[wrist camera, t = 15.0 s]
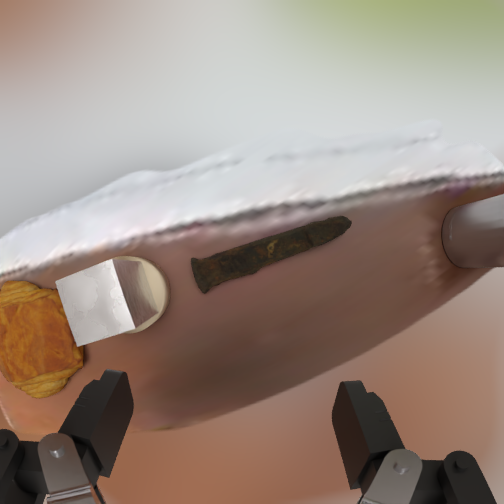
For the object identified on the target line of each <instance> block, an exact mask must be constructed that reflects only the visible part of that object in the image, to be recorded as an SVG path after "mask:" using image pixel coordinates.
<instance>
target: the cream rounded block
mask: <svg viewBox="0 0 504 504" xmlns="http://www.w3.org/2000/svg"><path fill="white" fill-rule="evenodd" d="M112 259H118V260H129V261H140V262H142V265H143V268H144V271H145V274H146V277H147V280H148V283H149V286H150V288H151V291H152V294H153V297H154V300H155V303H156V305H157V308H158V311H159V313H157V314H156V315H154V316H153V317H151V318H150V319H149V320H147V321H146V322H144V323H143V324H141V325H140V326H138V327H137V328H135V329H132V330H129V331H126V332H123V333H136V332H139V331H142V330H144V329H146V328H147V327H149V326H150V325H151V324H153V323H154V322H155V321H156V320H158V319H159V318H160V317H161V316H162V315H163V314H164V312H165V311H166V309H167V307H168V304H169V301H170V285H169V282H168V279H167V277H166V275H165V273H164V272H163V270H162V269H161V268H160V267H159V266H158V265H157V264H155V263H154V262H152V261H150V260H148V259H144V258H138V257H131V256H119V257H115V258H112Z"/></svg>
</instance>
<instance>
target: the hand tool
mask: <svg viewBox="0 0 504 504" xmlns="http://www.w3.org/2000/svg"><path fill="white" fill-rule="evenodd" d="M351 224H352V222H351V221H350V220H349V219H348V218H347V217H344V216H338V217H333V218H328V219H327V220H325V221H318V222H312V223H310V224H308V225H306V226H302V227H299V228H296V229H293V230H290V231H287V232H284V233H280V234H277V235H274V236H270V237H267V238H264V239H261V240H258V241H254V242H251V243H249V244H246V245H243V246H239V247H236V248H233V249H230V250H227V251H224V252H221V253H217V254H215V255H213V256H211V257H208V258H205V259H202V260H197V259H196V258H192V259H191V265H192V269H193V273H194V277H195V280H196V283H197V284H198V286H199V288H200V289H201V291H202V293H207V292H208V290H209V289H210V288H212V287H213V286H216V285H219V284H220V283H221V282H223V281H227V280H230V279H234V278H238V277H240V276H241V277H242V276H245V275H247V274H254V273H256V272H257V271H258V270H259V269H260V268H262V267H264V266H267V265H270V264H272V263H274V262H277V261H279V260H282V259H284V258H287V257H290V256H293V255H295V254H297V253H300V252H303V251H306V250H309V249H310V248H313V247H316V246H319V245H322V244H324V243H327V242H329V241H331V240H333V239H335V238H337V237H338V236H340V235H342V234H343V233H345V231H346V230H347V229H348V228H350V226H351Z"/></svg>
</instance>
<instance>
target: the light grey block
mask: <svg viewBox="0 0 504 504" xmlns="http://www.w3.org/2000/svg"><path fill="white" fill-rule="evenodd" d="M55 282H56V285H57V289H58V292H59V295H60V298H61V302H62V305H63V308H64V311H65V314H66V317H67V320H68V322H69V325H70V328H71V331H72V334H73V336H74V339H75V342H76V344H77V347H78V346H82V345H85V344H88V343H91V342H95V341H98V340H101V339H104V338H107V337H110V336H114V335H117V334H120V333H123V332H126V331H129V330H132V329H135V328H137V327H138V326H140V325H141V324H143V323H144V322H146V321H147V320H149V319H150V318H151V317H153V316H154V315H156V314H157V313H159V311H158V308H157V305H156V303H155V300H154V297H153V294H152V291H151V288H150V286H149V283H148V280H147V277H146V274H145V271H144V268H143V265H142V262H140V261H129V260H118V259H110V260H108V261H105V262H102V263H100V264H97V265H95V266H92V267H90V268H87V269H85V270H82V271H80V272H77V273H75V274H72V275H70V276H67V277H65V278H62V279H60V280H57V281H55Z"/></svg>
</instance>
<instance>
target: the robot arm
mask: <svg viewBox="0 0 504 504" xmlns="http://www.w3.org/2000/svg"><path fill="white" fill-rule="evenodd" d="M442 240H443V245H444V249H445V252H446V254H447V256H448V258H449V259H450V260H451V262H452V263H454V264H455V265H456V266H458V267H461V268H488V267H504V194H503V195H499V196H495V197H492V198H488V199H484V200H481V201H477V202H473V203H469V204H466V205H462V206H458V207H455V208H453V209H452V210H450V211H449V213H448V214H447V215H446V217H445V220H444V223H443V228H442ZM133 408H134V403H133V397H132V393H131V389H130V385H129V380H128V376H127V373H126V372H123V371H116V370H110V369H107V370H105V372H104V373H103V375H102V377H101V379H100V380H93V381H91V382H90V383H89V384H88V385H86V386H85V387H84V388H83V390H82V392H81V393H80V395H79V398H77V400H76V402H75V405H73V407H72V409H71V410H70V412H69V414H68V416H67V417H66V419H65V421H64V423H63V424H62V426H61V428H60V430H59V431H58V433H51V434H48V435H46V436H45V437H43V438H42V439H41V441H40V442H33V441H19V439H18V437H17V436H16V435H15V433H14V432H12V431H10V430H7V429H1V430H0V504H43V502H44V499H45V496H46V494H49V495H50V497H47V504H106V501H105V499H104V497H103V495H102V493H101V491H100V489H99V486H98V484H97V480H98V477H99V475H101V476H105V477H108V478H109V477H110V474H111V471H112V468H113V466H114V463H115V460H116V457H117V455H118V452H119V449H120V446H121V444H122V440H123V438H124V436H125V433H126V430H127V428H128V425H129V422H130V420H131V417H132V414H133ZM332 423H333V427H334V431H335V434H336V438H337V441H338V445H339V448H340V452H341V456H342V459H343V463H344V467H345V471H346V474H347V478H348V482H349V485H350V489H357V488H361V492H362V495H361V497H360V499H359V500H358V502H357V504H497V503H496V501H495V499H494V496H493V494H492V492H491V490H490V488H489V486H488V484H487V482H486V480H485V478H484V476H483V473H482V471H481V470H480V468H479V466H478V464H477V462H476V460H475V458H474V457H473V456H472V455H471V454H469V453H467V452H464V451H454V452H451V453H450V454H448V455H447V457H446V458H445V459H444V460H421V459H420V457H419V456H418V455H417V454H416V453H414V452H412V451H410V450H407V449H405V447H404V445H403V443H402V441H401V438H400V436H399V434H398V432H397V430H396V428H395V426H394V423H393V421H392V420H391V417H390V415H389V413H388V412H387V409H386V407H385V405H384V402H383V401H382V400H381V399H380V398H379V397H378V396H377V395H376V394H375V393H374V392H370V393H367V392H366V389H365V387H364V385H363V383H362V382H361V381H345V382H341V383H340V385H339V389H338V392H337V396H336V399H335V403H334V406H333V410H332Z"/></svg>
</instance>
